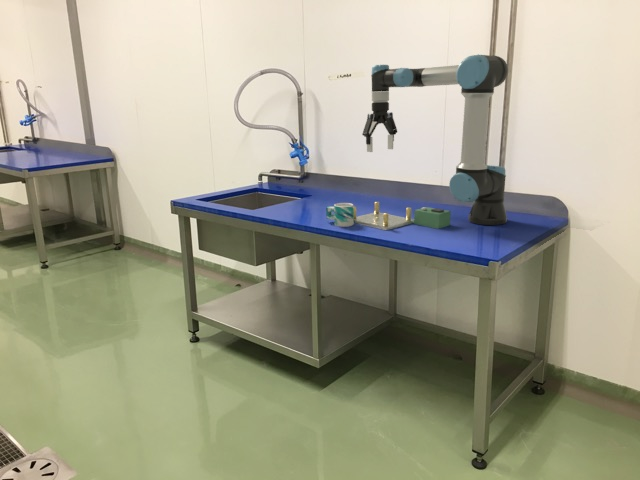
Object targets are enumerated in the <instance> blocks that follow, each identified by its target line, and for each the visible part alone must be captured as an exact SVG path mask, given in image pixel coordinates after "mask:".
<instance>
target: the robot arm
mask: <svg viewBox="0 0 640 480" xmlns="http://www.w3.org/2000/svg"><path fill="white" fill-rule="evenodd" d="M508 74H509V66H508V63H507V62H506V60H505V59H503V58H502V57H500V56H498V55H487V54H472V55H468V56H467V57H465V58H464V59H463V60H462V61H461V62H460V63H459V64H456V65H455V64H454V65H445V66H435V67H434V66H432V67H424V68H423V67H421V68H408V67H400V68H399V67H398V68H390V65H388V64H374V65H372V67H371V101H372V103H371V111H372V113H367V118H366V122H365V125H364V128H363V131H362V136H364V137H365V144H366V153H367V152H368V153H373V150H374V149H373V140H374V139H373V136H372V135H373V134H374V132H375V130H376V128H377V126H378V125H380V124H383V126H384V127H385V128H384V129H386V131H387V133H388V134H387V149H388V150H394V141H395V135H396V134H397V133H398V128H397V126H396V122H395V119H394V113H393V112H389V110H390V102H389V100H390V88H408V87H409V88H415V87H417V88H423V87H432V86H450V85H455V86H456V85H459V87H461V91H460V94H461V95H462V96H463V97H464V107H463V108H464V109H463V122H462V138H461V139H462V140H461V153H460V162H459V163H458V164H457V165H456V166H455V167H456V168H455V170H456V171H455V174H453V176H452V177H451V178H450V179H449V186H448V187H449V192H450V193H451V195H452V197H454V199H455V200H457V201H458V202H461V203H473V204H472V207H471V209H470V211H469V213H468V221H469V222H470V223H473V224H477V225H484V226H497V225H498V226H499V225H504V224H506V223H507V222H508V215H507V211H506V207H505V203H504V201H505V188H506V186H505V185H506V177H507V175H506V168H505V167H504V166H499V165H489V164H488V165H487V164H486V163H485V152H486V139H487V128H488V113H489V103H490V102H489V101H490V98H491V97H492V96H493V95H494V93H495V92H494V91H495V88H496V87H497V88H498V87H499V86H501V85H502V84H503V83H504V82H505V81H506V79H507V77H508Z"/></svg>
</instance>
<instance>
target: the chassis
mask: <svg viewBox="0 0 640 480" xmlns="http://www.w3.org/2000/svg"><path fill="white" fill-rule="evenodd" d="M405 210H406V211H405V216H406V217H404V216H398V215H394V214H389V213H388V212H384V213H383V212H380V201H374V212H370V213H366V214H361V215H358V216H357V206H353V224H357V225H362V226H366V227H369V228H374V229H377V230H383V231H389V230H392V229H393V230H394V229H397V228H400V227H405V226H407V225H410V224H414V218H412V207H406V209H405Z"/></svg>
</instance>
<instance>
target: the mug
mask: <svg viewBox="0 0 640 480" xmlns="http://www.w3.org/2000/svg"><path fill="white" fill-rule="evenodd" d="M333 205H334V206H326V208H325V211H326V219H327V220H331V221H332V220H333V221H334V226H336V227H342V228H344V227H345V228H346V227H351V226H354V223H353V207H354V204H353V203H350V202H339V203H338V202H337V203H334V204H333Z"/></svg>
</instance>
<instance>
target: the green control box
mask: <svg viewBox="0 0 640 480" xmlns="http://www.w3.org/2000/svg"><path fill="white" fill-rule="evenodd" d="M413 213H414V214H413V215H414V218H413V219H414V223H413V225H417V226H418V225H419V226H423V227H427V228H432V229H437V230H438V229H442V228H446V227H449V226H451V213H452V211H451V210H445V209H441V208H433V207H429V206H426V207H425V206H423V207H421V208H417V209H414V212H413Z"/></svg>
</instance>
